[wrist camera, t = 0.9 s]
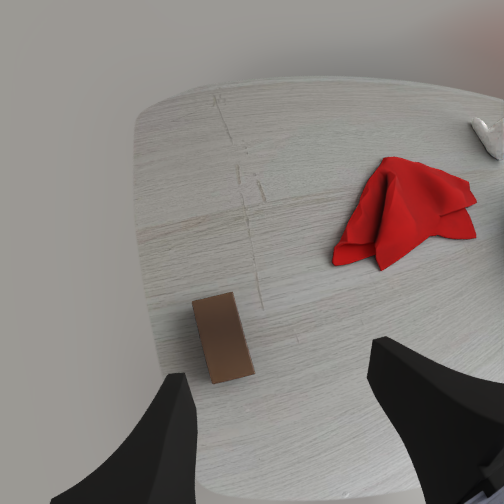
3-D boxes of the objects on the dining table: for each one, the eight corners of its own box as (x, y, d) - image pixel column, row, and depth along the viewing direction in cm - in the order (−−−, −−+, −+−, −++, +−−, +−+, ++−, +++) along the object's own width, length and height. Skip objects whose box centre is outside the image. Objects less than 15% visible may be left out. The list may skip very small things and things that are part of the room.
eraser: (253, 372, 25) (255, 373, 22) (214, 382, 25) (212, 384, 22) (232, 299, 28) (232, 291, 25) (196, 308, 27) (191, 301, 24)
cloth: (451, 155, 37) (458, 146, 35) (491, 236, 32) (501, 229, 30) (297, 168, 33) (300, 156, 31) (338, 283, 29) (345, 276, 26)
